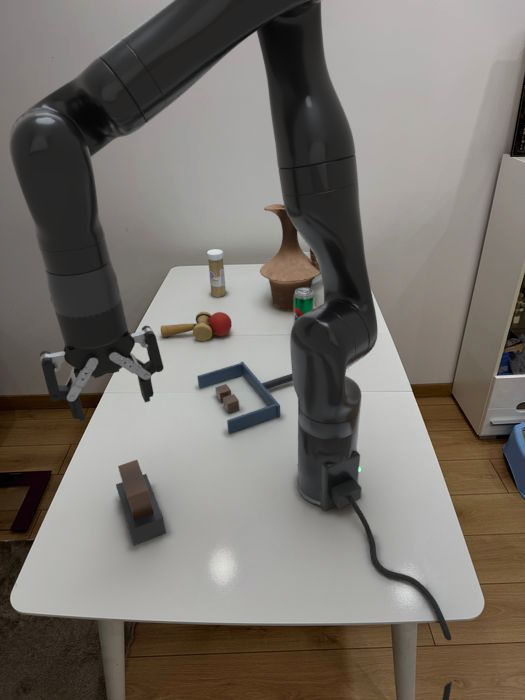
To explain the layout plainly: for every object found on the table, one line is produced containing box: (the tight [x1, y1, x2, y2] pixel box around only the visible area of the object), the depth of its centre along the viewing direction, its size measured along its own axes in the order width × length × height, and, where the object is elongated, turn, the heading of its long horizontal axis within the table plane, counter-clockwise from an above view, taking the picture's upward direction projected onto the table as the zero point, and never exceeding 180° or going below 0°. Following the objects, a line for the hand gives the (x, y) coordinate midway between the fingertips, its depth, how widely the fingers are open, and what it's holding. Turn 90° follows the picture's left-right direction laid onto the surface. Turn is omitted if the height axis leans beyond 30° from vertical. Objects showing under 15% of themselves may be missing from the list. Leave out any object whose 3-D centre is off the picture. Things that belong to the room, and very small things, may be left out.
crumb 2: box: [222, 393, 240, 414], centre depth 99 cm, size 2×2×2 cm
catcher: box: [197, 361, 293, 434], centre depth 102 cm, size 18×19×3 cm
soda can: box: [292, 288, 315, 324], centre depth 121 cm, size 5×5×12 cm
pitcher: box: [259, 203, 321, 312], centre depth 131 cm, size 18×17×28 cm
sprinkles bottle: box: [206, 248, 227, 298], centre depth 142 cm, size 5×5×14 cm
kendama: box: [159, 310, 233, 342], centre depth 124 cm, size 8×6×18 cm
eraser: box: [115, 459, 167, 546], centre depth 75 cm, size 10×5×8 cm, turn 26°
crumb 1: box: [214, 383, 232, 404], centre depth 102 cm, size 2×2×2 cm
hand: (115, 408), depth 65 cm, fingers open, 8 cm apart
